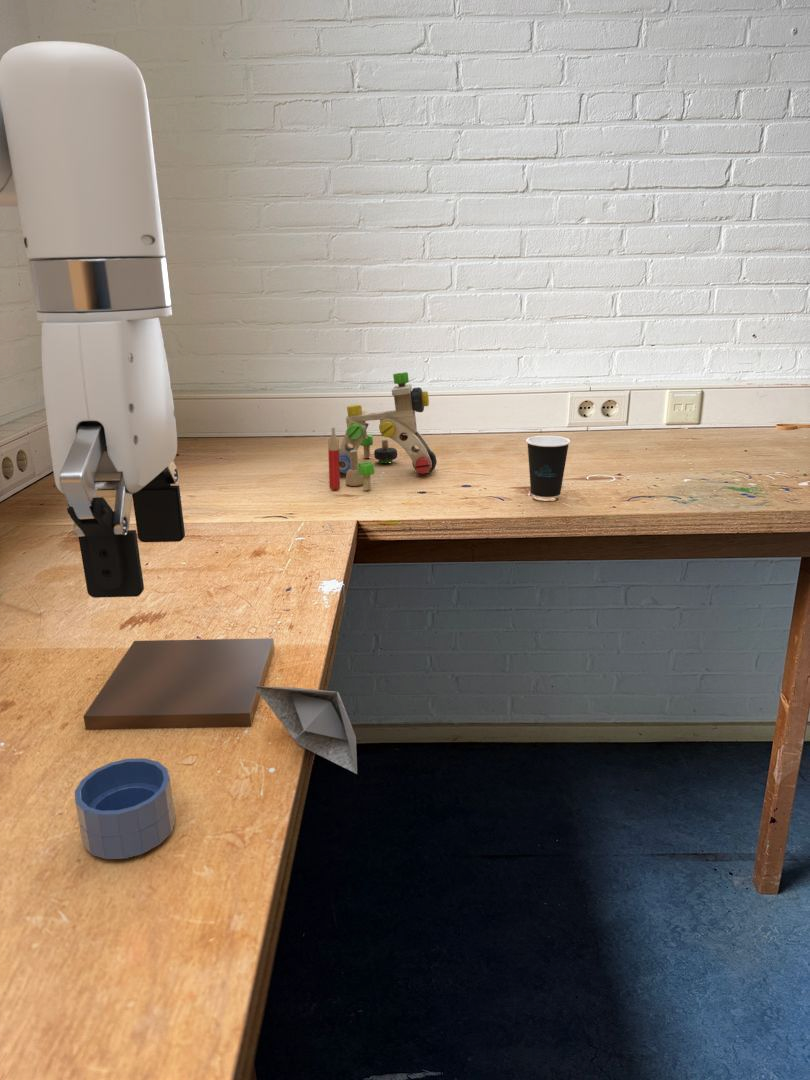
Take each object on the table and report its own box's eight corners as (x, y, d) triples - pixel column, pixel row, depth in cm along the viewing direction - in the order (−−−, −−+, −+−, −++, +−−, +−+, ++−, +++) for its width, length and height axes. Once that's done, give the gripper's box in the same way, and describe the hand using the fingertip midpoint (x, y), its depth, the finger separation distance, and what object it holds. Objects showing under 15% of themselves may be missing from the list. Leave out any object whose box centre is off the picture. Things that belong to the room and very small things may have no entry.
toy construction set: (388, 499, 149) (386, 388, 142) (291, 484, 159) (285, 380, 152) (453, 467, 171) (453, 369, 164) (364, 456, 181) (361, 363, 174)
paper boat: (396, 723, 75) (371, 755, 66) (358, 773, 76) (328, 812, 67) (298, 644, 77) (260, 665, 68) (262, 695, 78) (220, 723, 69)
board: (85, 729, 77) (83, 716, 77) (135, 652, 92) (134, 640, 92) (251, 726, 77) (249, 713, 77) (274, 649, 92) (273, 638, 92)
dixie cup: (536, 506, 143) (539, 446, 140) (516, 494, 150) (518, 437, 147) (575, 501, 146) (578, 442, 142) (553, 490, 153) (556, 433, 149)
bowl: (69, 865, 60) (60, 815, 58) (101, 806, 66) (93, 758, 65) (162, 863, 60) (155, 813, 58) (184, 804, 66) (178, 757, 65)
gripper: (92, 289, 55) (126, 525, 60) (-38, 301, 38) (26, 623, 44) (201, 286, 55) (225, 523, 60) (118, 298, 38) (162, 620, 44)
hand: (141, 565), depth 52 cm, fingers open, 9 cm apart
